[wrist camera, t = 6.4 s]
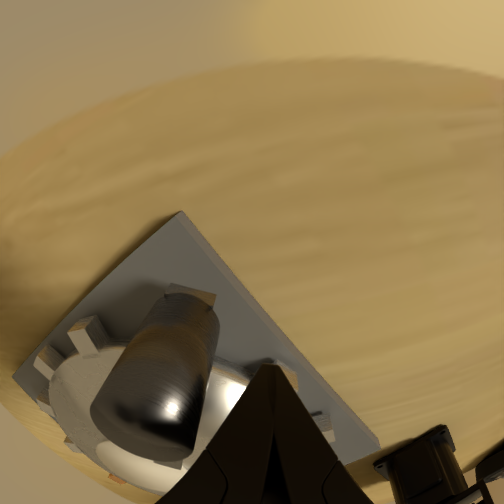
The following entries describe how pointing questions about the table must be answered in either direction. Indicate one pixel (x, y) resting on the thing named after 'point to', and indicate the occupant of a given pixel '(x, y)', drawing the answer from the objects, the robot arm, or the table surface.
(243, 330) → the sprocket base
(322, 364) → the table surface
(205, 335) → the sprocket
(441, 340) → the table surface
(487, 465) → the caster wheel
